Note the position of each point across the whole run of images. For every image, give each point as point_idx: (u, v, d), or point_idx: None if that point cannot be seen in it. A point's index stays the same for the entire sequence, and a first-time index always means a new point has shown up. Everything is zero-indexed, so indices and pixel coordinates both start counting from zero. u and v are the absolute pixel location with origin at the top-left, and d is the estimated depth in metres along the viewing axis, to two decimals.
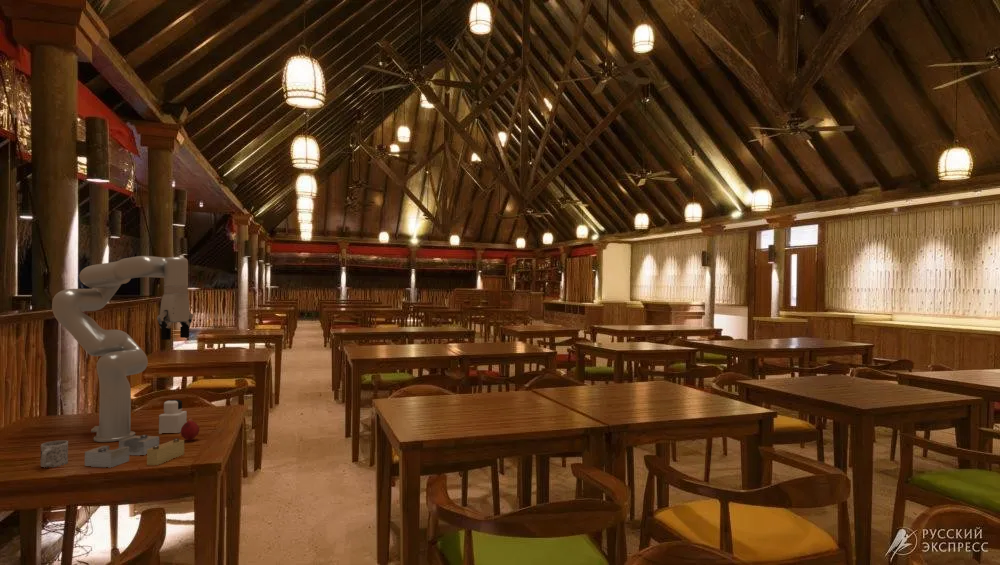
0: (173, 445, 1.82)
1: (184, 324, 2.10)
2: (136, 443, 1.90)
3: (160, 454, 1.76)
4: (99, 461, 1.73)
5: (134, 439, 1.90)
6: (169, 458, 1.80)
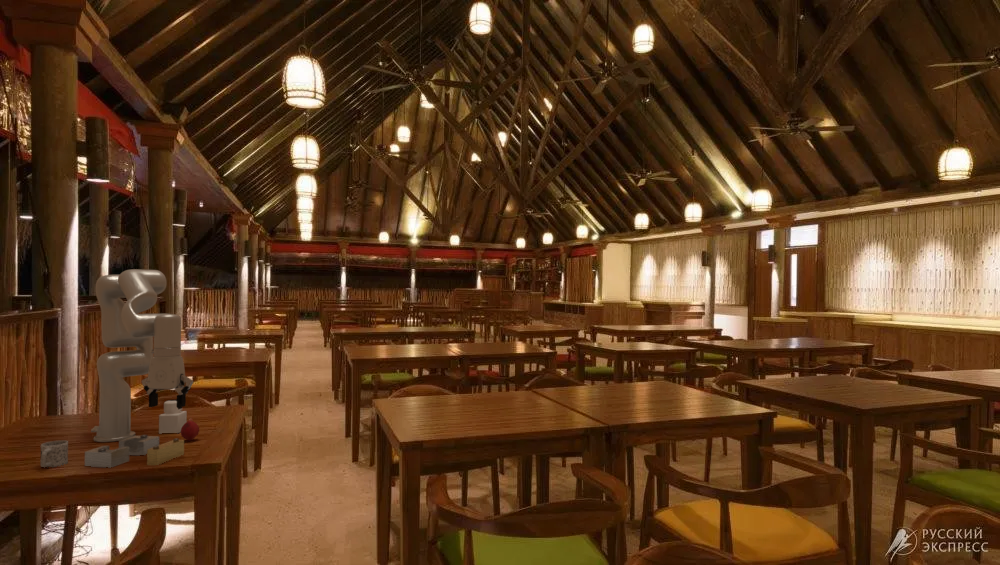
0: (173, 445, 1.82)
1: (152, 391, 1.82)
2: (136, 443, 1.90)
3: (160, 454, 1.76)
4: (99, 461, 1.73)
5: (134, 439, 1.90)
6: (169, 458, 1.80)
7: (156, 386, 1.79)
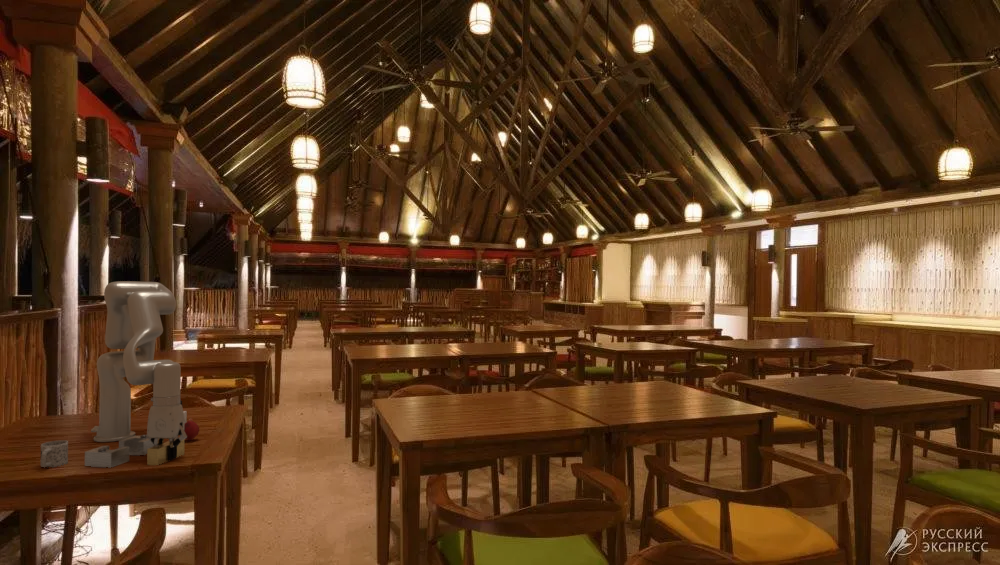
0: None
1: (159, 442, 1.81)
2: (136, 443, 1.90)
3: (160, 453, 1.76)
4: (99, 461, 1.73)
5: (134, 439, 1.90)
6: None
7: (155, 436, 1.78)
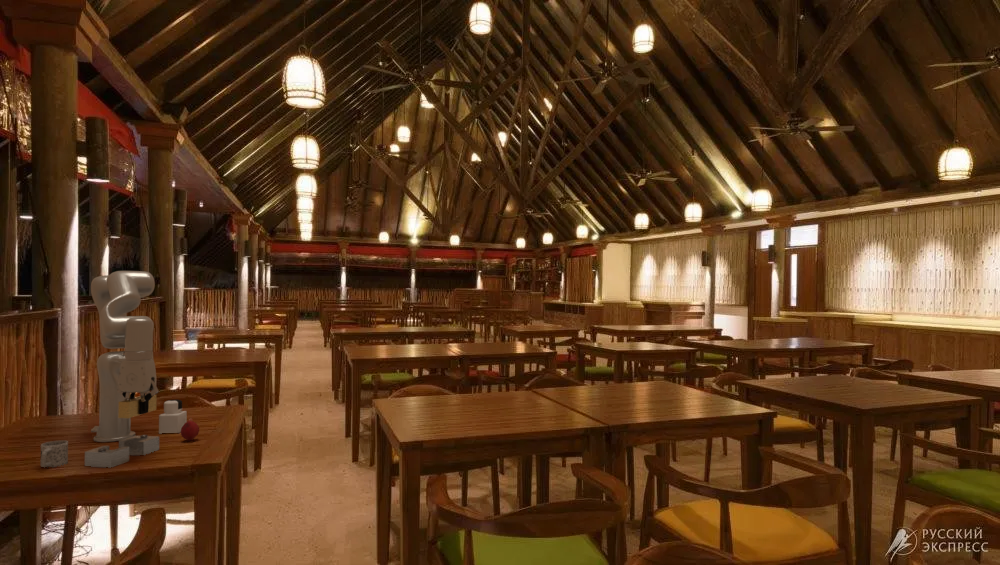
0: None
1: (130, 397, 1.83)
2: (136, 443, 1.90)
3: (132, 406, 1.78)
4: (99, 461, 1.73)
5: (134, 439, 1.90)
6: None
7: (127, 389, 1.80)
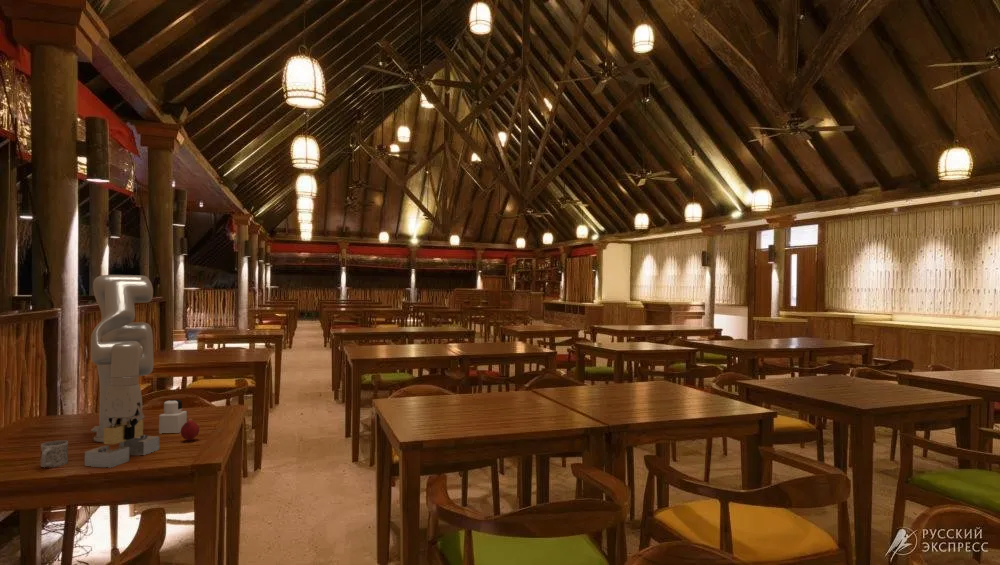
0: None
1: (117, 422, 1.83)
2: (136, 443, 1.90)
3: (117, 432, 1.78)
4: (99, 461, 1.73)
5: (134, 439, 1.90)
6: None
7: (112, 415, 1.81)
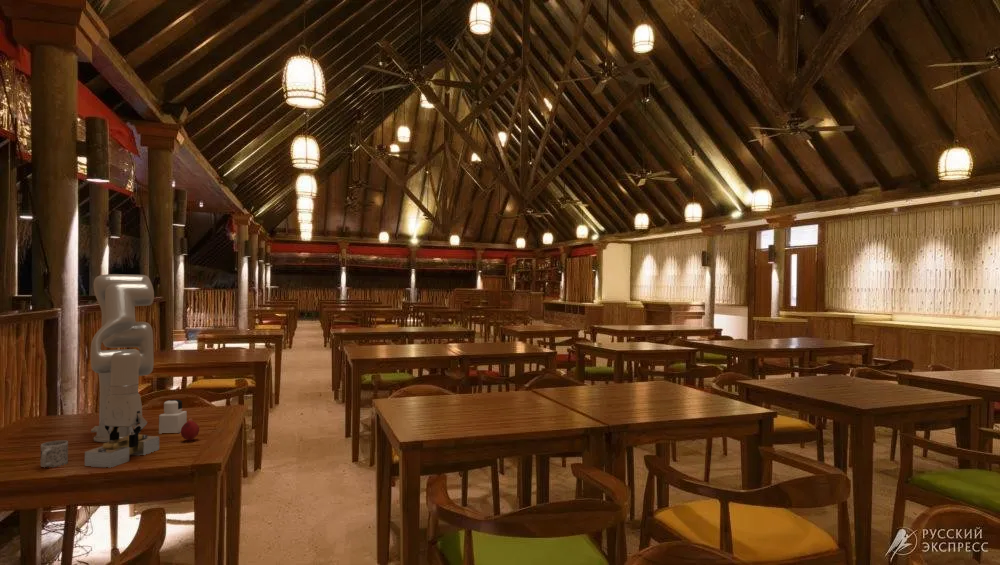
0: None
1: (113, 430, 1.83)
2: None
3: (116, 448, 1.78)
4: (99, 461, 1.73)
5: None
6: None
7: (112, 424, 1.81)
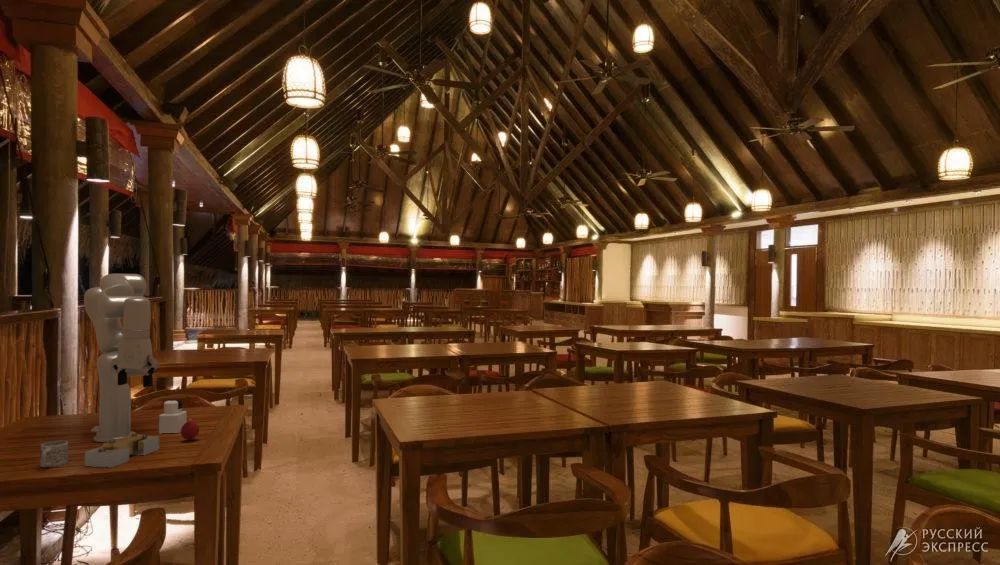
0: (130, 440, 1.84)
1: (121, 370, 1.91)
2: None
3: (116, 448, 1.78)
4: (99, 461, 1.73)
5: None
6: None
7: (124, 366, 1.88)
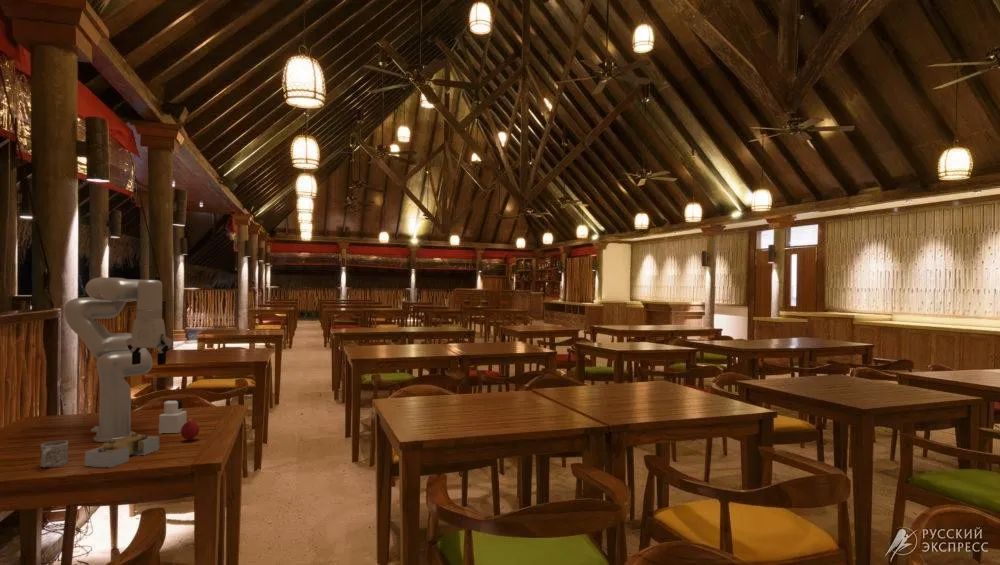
0: (130, 440, 1.84)
1: (135, 350, 1.98)
2: None
3: (116, 448, 1.78)
4: (99, 461, 1.73)
5: None
6: None
7: (138, 345, 1.95)
